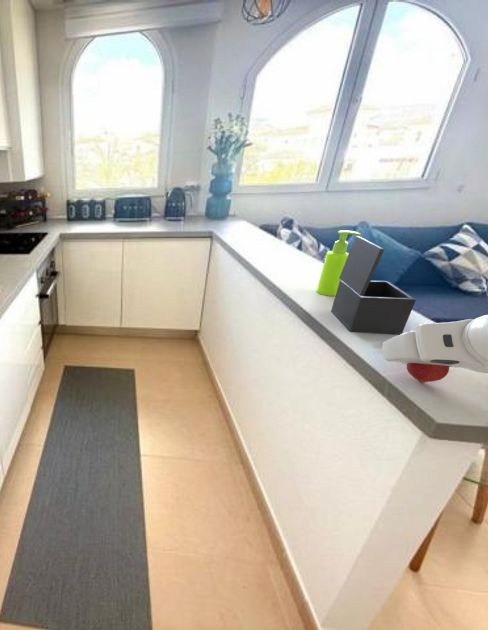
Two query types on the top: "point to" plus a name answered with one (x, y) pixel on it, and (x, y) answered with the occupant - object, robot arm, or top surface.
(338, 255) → the soap dispenser
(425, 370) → the onion
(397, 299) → the grey box
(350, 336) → the top surface
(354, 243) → the box lid
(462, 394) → the top surface
